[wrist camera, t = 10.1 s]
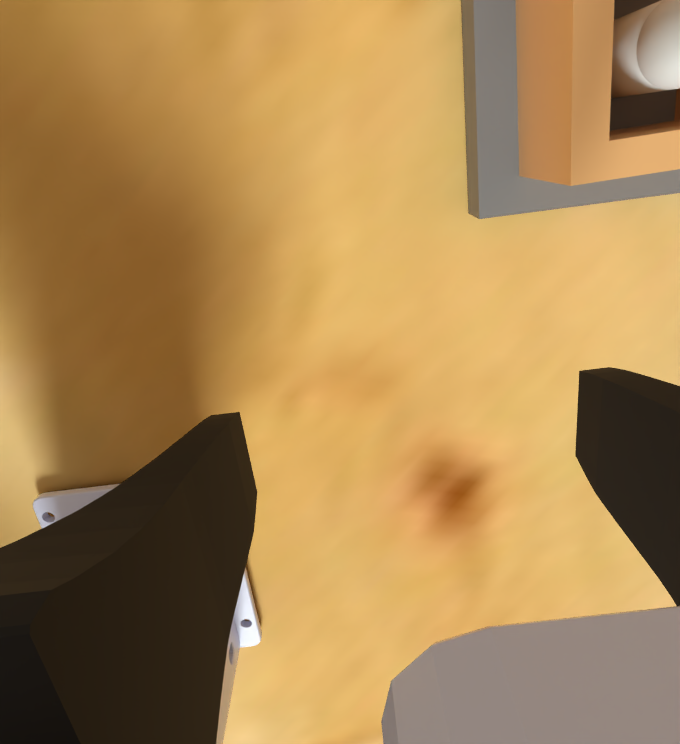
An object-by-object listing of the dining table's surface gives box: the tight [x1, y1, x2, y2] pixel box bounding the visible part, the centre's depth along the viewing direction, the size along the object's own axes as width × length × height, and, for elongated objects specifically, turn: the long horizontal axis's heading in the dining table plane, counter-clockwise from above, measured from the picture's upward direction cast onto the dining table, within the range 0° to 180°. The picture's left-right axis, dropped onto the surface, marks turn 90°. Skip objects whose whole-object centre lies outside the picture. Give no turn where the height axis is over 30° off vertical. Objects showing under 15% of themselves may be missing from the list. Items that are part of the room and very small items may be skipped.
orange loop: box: [515, 0, 680, 186], centre depth 14 cm, size 6×6×4 cm
